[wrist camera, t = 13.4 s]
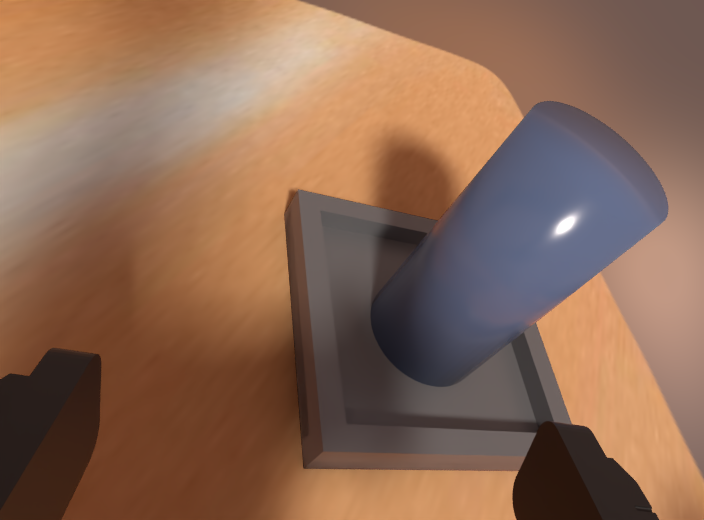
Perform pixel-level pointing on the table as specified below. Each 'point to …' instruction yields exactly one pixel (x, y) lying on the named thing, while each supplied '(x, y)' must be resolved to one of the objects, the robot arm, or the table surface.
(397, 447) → the tray
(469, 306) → the blue-grey cylinder
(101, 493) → the table surface
